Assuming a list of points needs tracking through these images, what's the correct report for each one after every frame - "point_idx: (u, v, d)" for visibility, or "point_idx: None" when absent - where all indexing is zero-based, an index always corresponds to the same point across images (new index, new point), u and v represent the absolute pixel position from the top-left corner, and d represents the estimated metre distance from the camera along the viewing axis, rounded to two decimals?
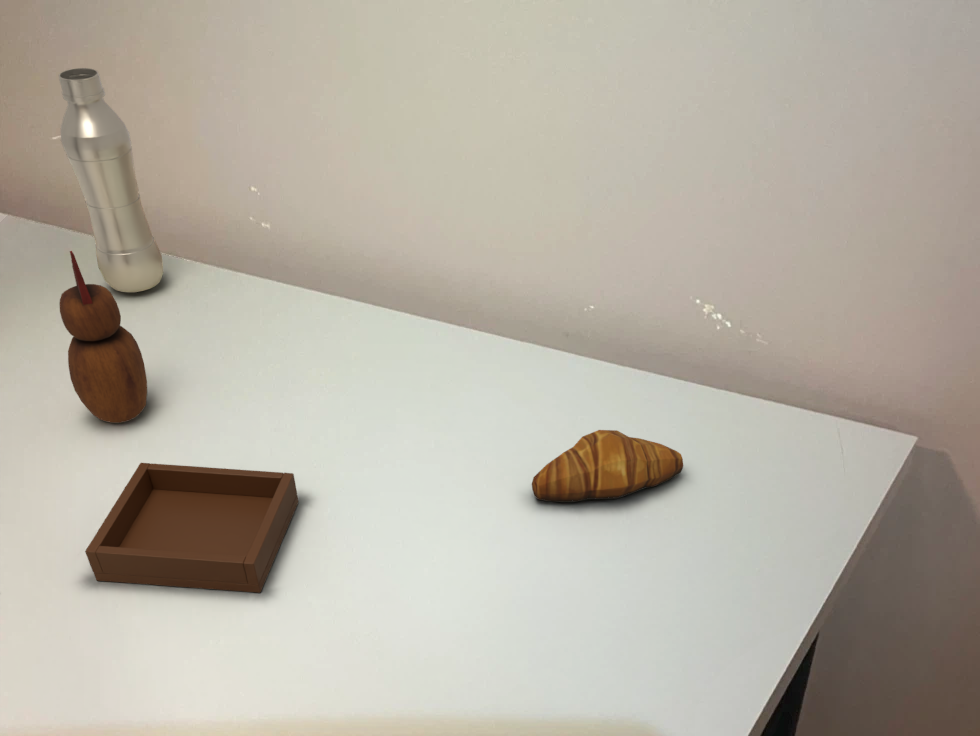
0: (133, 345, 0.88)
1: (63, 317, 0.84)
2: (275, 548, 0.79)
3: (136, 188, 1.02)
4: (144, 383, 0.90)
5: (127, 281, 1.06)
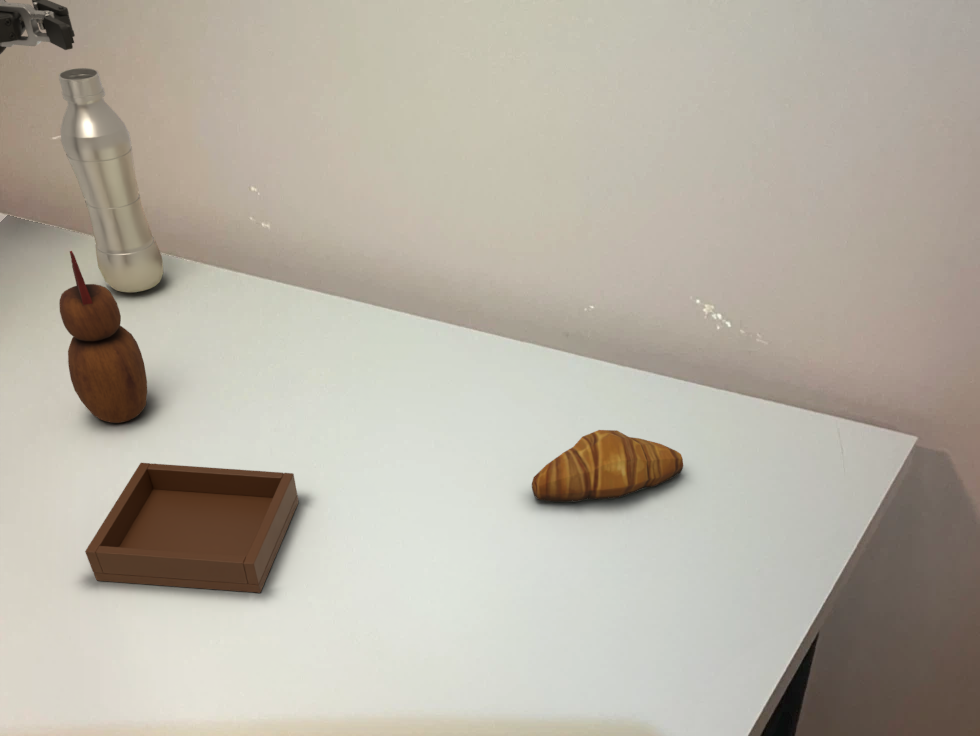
0: (133, 345, 0.88)
1: (63, 317, 0.84)
2: (275, 548, 0.79)
3: (136, 188, 1.02)
4: (144, 383, 0.90)
5: (127, 281, 1.06)
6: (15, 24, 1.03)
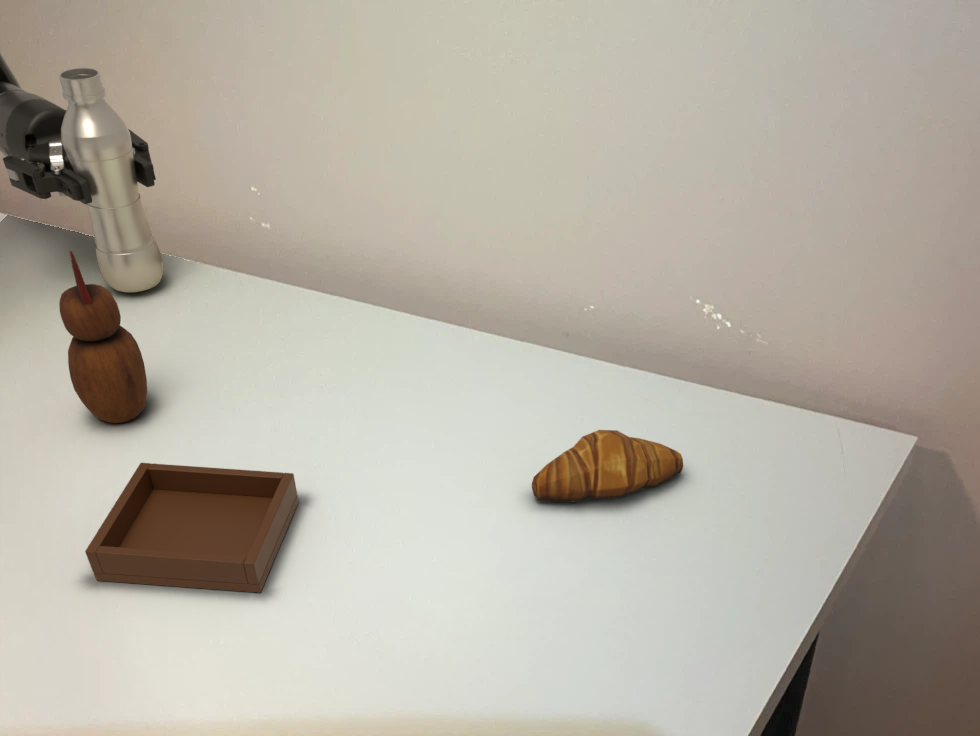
0: (133, 345, 0.88)
1: (63, 317, 0.84)
2: (275, 548, 0.79)
3: (136, 188, 1.02)
4: (144, 383, 0.90)
5: (127, 281, 1.06)
6: None
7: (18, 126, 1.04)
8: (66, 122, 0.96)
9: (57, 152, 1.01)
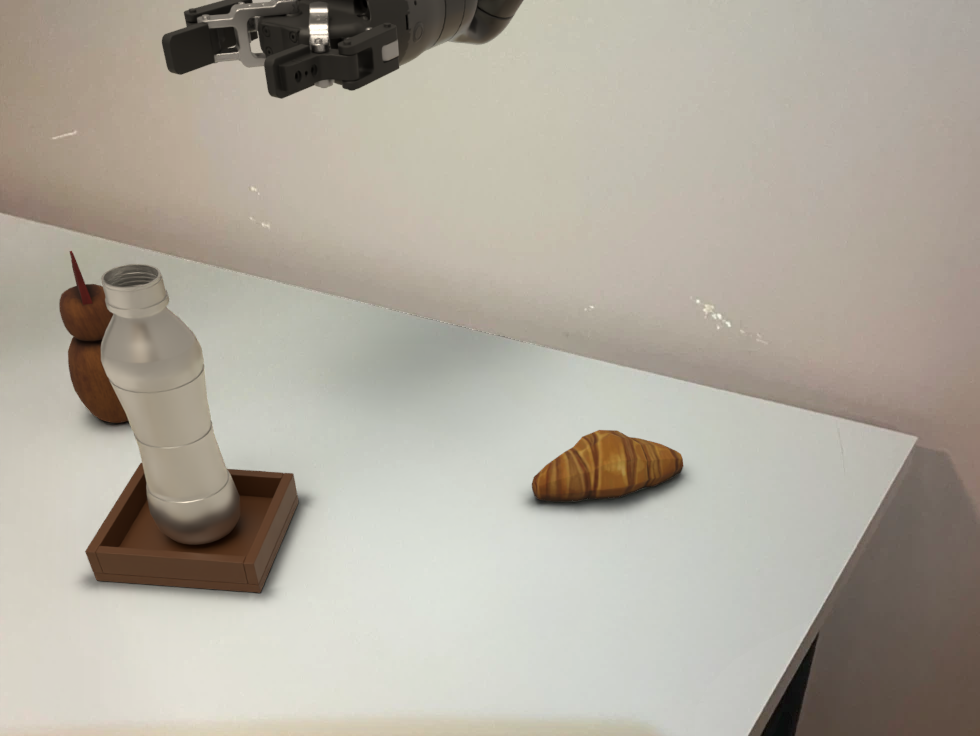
0: None
1: (63, 317, 0.84)
2: (275, 548, 0.79)
3: (172, 435, 0.71)
4: None
5: None
6: (303, 44, 0.68)
7: None
8: None
9: (248, 8, 0.68)
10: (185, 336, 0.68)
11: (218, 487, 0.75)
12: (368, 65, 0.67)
